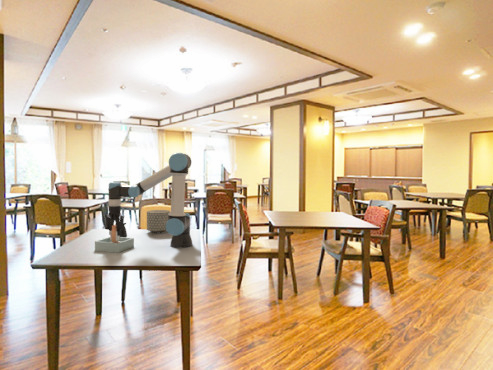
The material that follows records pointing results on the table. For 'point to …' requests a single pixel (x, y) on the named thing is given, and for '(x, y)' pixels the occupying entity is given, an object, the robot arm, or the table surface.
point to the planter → (157, 220)
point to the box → (114, 244)
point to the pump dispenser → (123, 231)
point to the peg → (114, 234)
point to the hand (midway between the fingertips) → (114, 240)
